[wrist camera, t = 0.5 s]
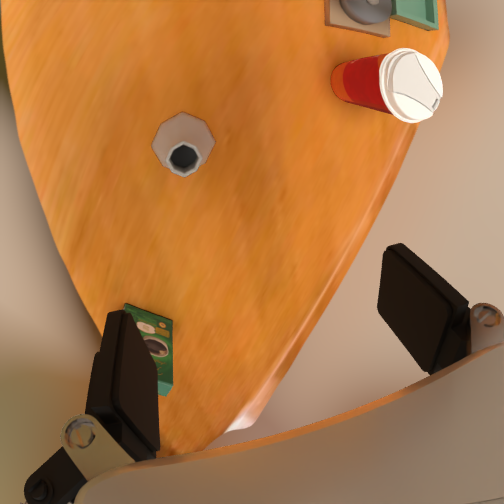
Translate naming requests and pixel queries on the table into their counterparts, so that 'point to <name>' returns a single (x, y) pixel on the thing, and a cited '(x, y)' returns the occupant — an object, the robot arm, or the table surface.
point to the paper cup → (391, 84)
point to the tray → (416, 13)
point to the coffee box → (156, 343)
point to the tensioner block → (360, 15)
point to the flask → (183, 144)
